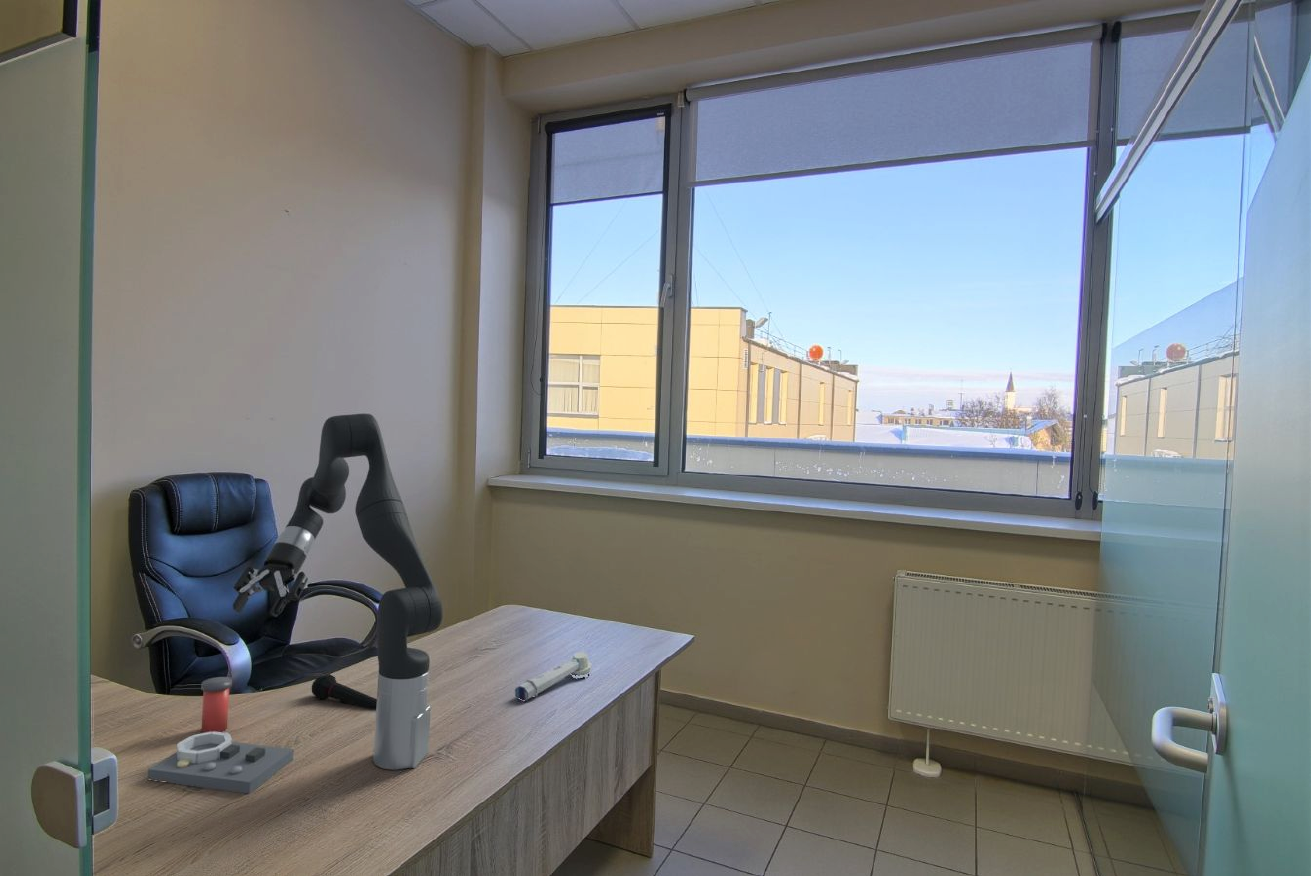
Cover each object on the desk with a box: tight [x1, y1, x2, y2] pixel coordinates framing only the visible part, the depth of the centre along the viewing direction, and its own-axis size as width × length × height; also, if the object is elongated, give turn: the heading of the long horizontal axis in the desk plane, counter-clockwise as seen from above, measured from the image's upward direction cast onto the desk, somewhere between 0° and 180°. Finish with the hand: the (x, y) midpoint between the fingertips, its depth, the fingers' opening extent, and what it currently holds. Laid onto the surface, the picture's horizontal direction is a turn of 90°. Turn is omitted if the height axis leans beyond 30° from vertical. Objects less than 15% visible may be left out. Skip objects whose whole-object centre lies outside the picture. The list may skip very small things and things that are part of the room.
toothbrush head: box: [514, 651, 593, 702], centre depth 174 cm, size 5×7×25 cm
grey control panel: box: [147, 731, 294, 794], centre depth 125 cm, size 19×12×4 cm, turn 84°
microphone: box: [311, 673, 377, 710], centre depth 156 cm, size 6×6×20 cm
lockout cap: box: [200, 676, 233, 733], centre depth 139 cm, size 5×5×10 cm
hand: (254, 612), depth 149 cm, fingers open, 8 cm apart
